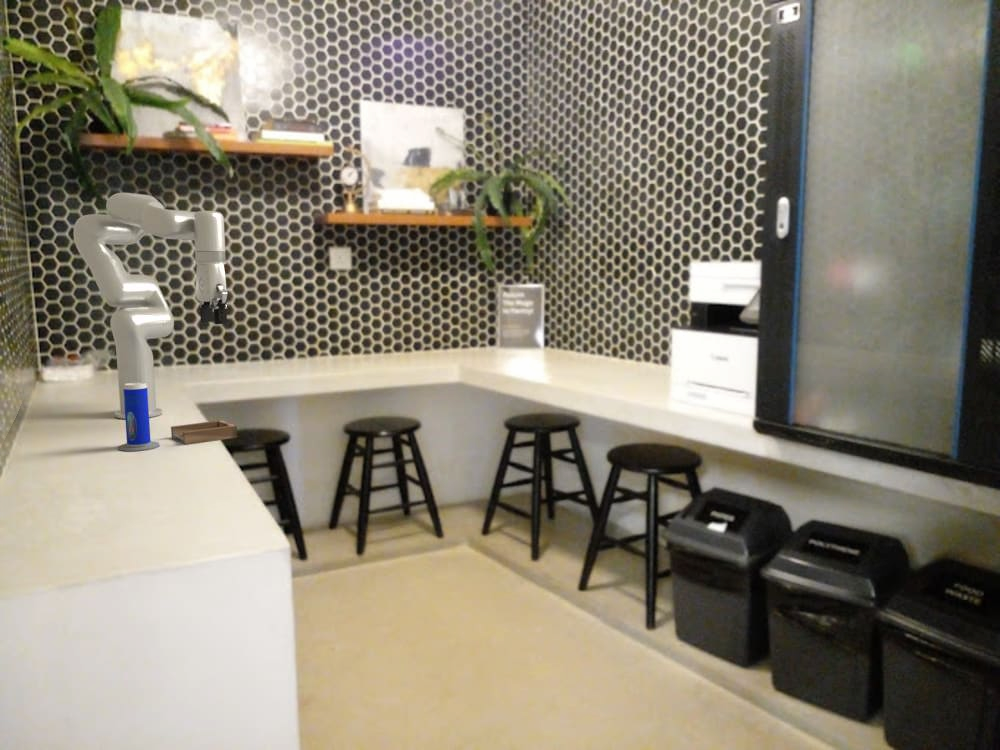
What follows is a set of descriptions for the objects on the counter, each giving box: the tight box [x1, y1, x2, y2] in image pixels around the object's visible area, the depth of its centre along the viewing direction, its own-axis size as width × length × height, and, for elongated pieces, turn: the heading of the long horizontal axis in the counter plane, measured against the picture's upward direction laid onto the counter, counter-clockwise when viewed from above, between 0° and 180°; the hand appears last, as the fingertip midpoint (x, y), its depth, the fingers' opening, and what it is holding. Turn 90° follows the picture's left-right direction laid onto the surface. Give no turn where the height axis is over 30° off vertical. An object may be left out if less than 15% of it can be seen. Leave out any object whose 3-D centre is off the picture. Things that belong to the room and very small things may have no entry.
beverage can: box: [123, 382, 152, 447], centre depth 181 cm, size 5×5×15 cm
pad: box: [117, 440, 160, 453], centre depth 181 cm, size 9×9×1 cm
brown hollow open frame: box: [170, 419, 238, 446], centre depth 191 cm, size 10×13×3 cm
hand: (213, 322), depth 202 cm, fingers open, 9 cm apart
